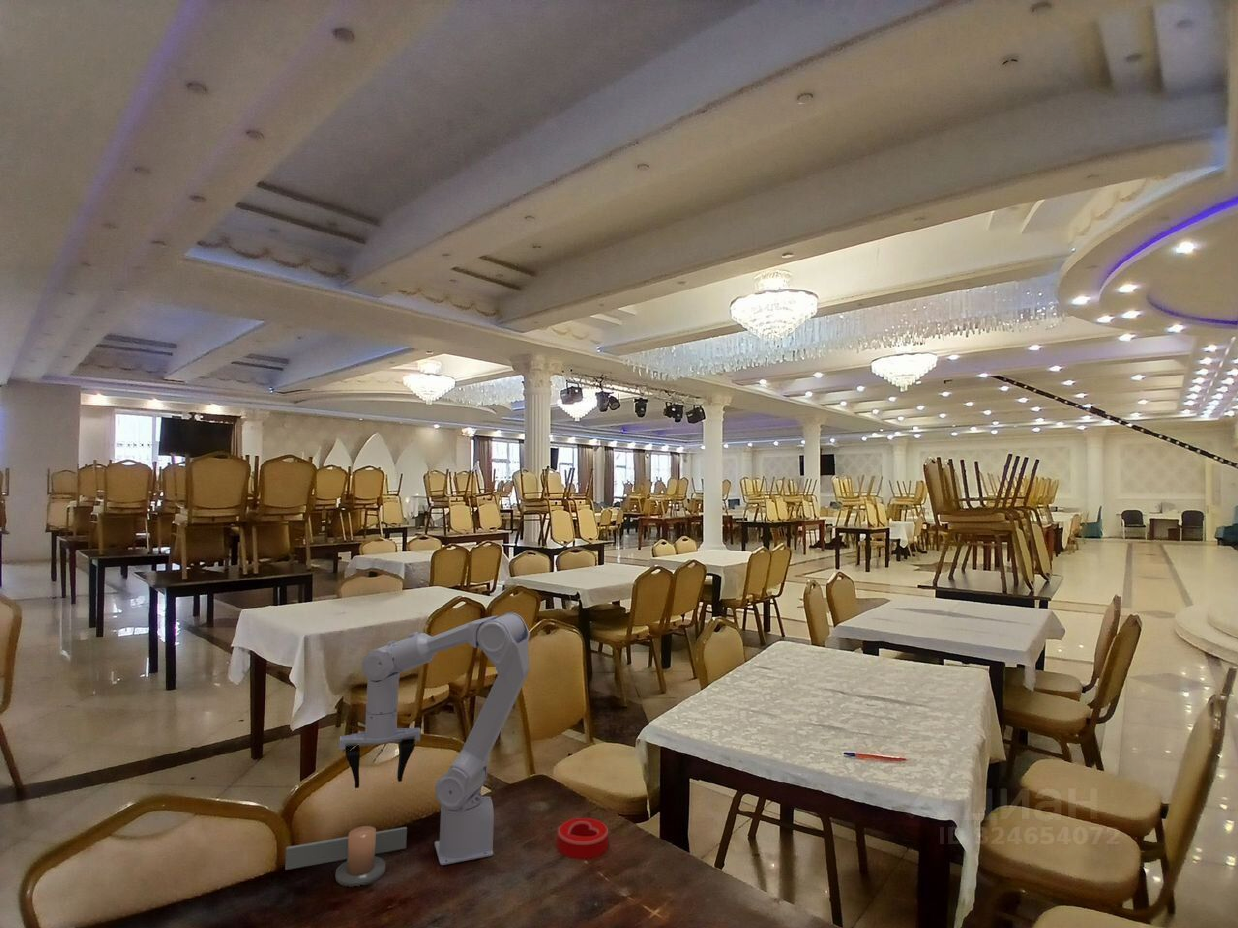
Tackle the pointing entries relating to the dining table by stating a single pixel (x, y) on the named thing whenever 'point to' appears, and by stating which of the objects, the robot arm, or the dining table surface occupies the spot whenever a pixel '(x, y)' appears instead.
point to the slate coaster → (351, 880)
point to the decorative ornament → (582, 838)
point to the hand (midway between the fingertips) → (378, 782)
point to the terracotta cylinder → (361, 850)
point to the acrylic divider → (340, 848)
